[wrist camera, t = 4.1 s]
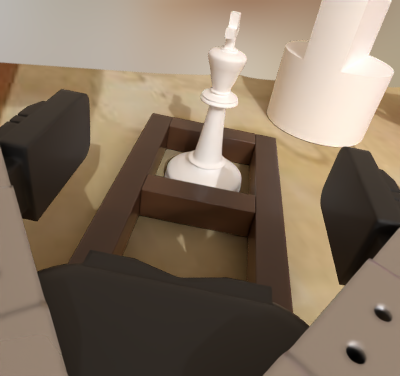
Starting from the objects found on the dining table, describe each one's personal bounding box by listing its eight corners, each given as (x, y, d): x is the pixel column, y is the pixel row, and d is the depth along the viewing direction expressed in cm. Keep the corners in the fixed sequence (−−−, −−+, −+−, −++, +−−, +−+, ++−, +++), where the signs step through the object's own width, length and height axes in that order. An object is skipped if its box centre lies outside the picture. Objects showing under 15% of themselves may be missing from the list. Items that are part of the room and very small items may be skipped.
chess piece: (244, 170, 25) (287, 14, 19) (234, 213, 21) (284, 34, 15) (176, 152, 26) (198, -5, 20) (154, 192, 22) (173, 9, 16)
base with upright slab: (289, 94, 39) (331, -36, 32) (373, 126, 35) (440, -12, 28) (249, 117, 32) (290, -40, 25) (346, 159, 29) (425, -10, 22)
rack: (48, 333, 14) (43, 304, 13) (150, 134, 27) (152, 112, 26) (283, 382, 14) (298, 357, 13) (269, 158, 27) (276, 137, 26)
